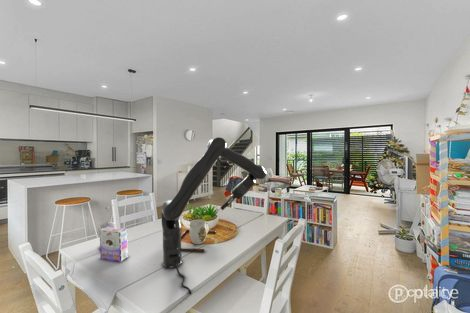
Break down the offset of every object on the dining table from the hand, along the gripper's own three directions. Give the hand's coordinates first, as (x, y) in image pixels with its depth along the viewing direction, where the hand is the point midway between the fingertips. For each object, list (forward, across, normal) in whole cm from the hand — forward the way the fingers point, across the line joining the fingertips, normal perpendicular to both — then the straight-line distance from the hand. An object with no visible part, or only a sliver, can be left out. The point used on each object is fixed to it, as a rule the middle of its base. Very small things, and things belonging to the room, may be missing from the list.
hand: (221, 208), depth 139 cm
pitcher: (+26, +1, +5) cm, 27 cm away
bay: (+29, 0, +2) cm, 29 cm away
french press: (+64, +16, -33) cm, 74 cm away
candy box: (+54, +28, -23) cm, 65 cm away
